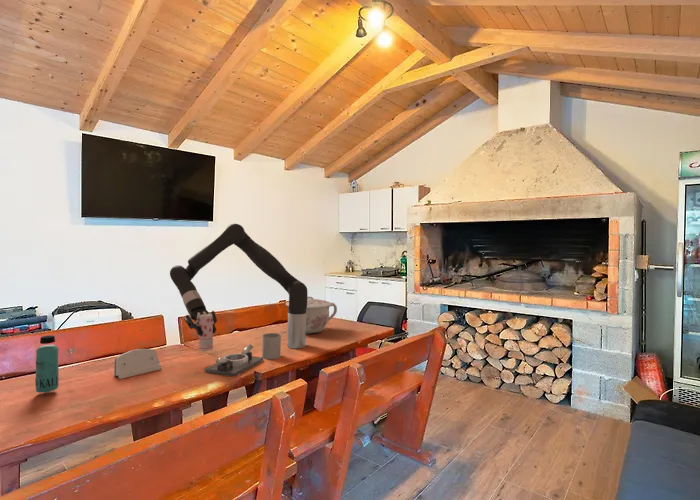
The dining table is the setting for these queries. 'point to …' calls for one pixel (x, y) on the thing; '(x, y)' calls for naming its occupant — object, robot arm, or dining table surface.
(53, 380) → the beverage bottle
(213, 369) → the base
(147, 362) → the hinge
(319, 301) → the chamber pot
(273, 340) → the cup
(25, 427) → the dining table surface
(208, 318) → the beverage can
